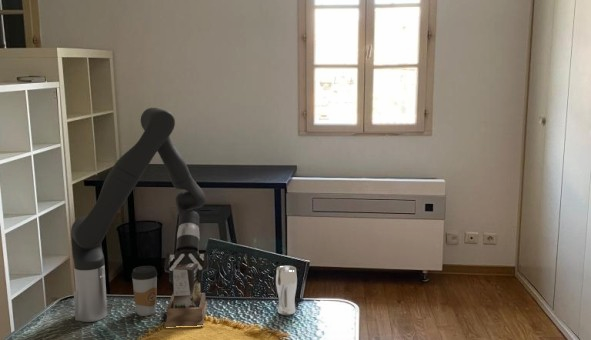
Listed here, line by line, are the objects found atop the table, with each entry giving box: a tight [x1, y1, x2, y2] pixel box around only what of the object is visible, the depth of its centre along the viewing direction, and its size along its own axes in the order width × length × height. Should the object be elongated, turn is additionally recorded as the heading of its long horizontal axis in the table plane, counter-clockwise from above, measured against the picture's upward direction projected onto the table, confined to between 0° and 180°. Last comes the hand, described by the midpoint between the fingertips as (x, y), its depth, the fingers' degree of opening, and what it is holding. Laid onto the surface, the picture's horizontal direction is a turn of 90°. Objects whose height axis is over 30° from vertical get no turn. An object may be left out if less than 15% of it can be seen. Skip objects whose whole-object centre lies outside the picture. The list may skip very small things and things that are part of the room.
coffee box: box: [172, 261, 201, 308], centre depth 181 cm, size 9×6×16 cm
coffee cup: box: [131, 265, 158, 317], centre depth 184 cm, size 8×8×15 cm
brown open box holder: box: [163, 292, 208, 328], centre depth 182 cm, size 12×20×5 cm, turn 5°
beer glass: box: [275, 265, 298, 316], centre depth 184 cm, size 7×7×15 cm
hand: (185, 282), depth 179 cm, fingers open, 8 cm apart
